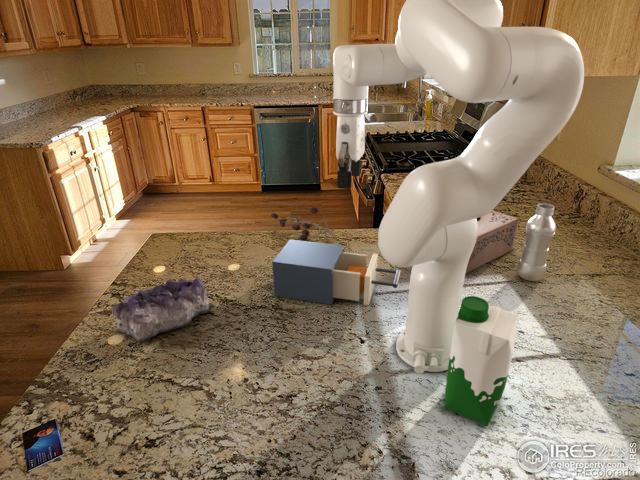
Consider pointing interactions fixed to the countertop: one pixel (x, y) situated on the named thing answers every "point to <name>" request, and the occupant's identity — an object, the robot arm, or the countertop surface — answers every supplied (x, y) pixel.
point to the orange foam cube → (362, 274)
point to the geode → (161, 308)
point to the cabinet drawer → (358, 277)
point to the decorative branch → (305, 225)
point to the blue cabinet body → (306, 271)
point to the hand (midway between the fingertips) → (349, 181)
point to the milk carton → (479, 359)
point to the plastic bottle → (537, 243)
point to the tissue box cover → (492, 238)
